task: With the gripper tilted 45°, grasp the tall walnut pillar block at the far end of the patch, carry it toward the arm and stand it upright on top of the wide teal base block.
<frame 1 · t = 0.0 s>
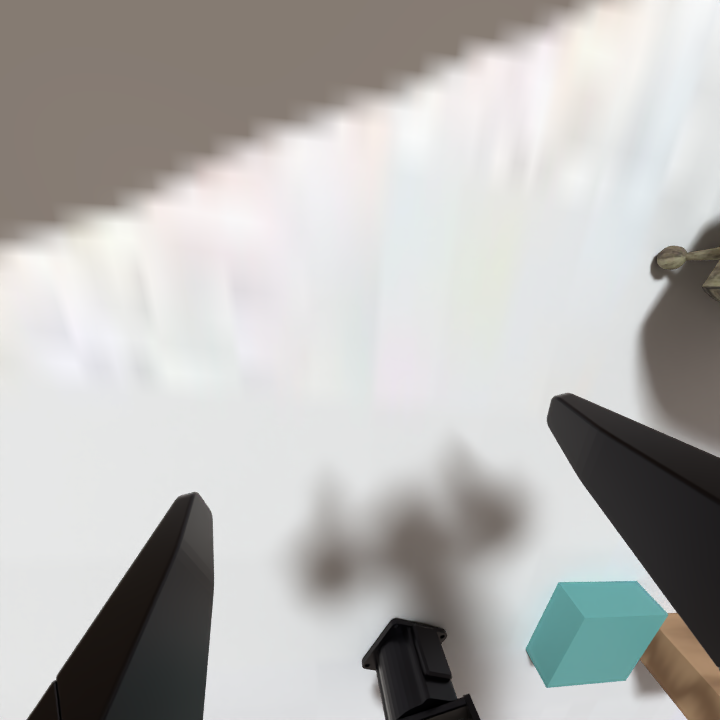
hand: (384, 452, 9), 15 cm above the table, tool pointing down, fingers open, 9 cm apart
walnut pillar: (653, 628, 44), on the table
teal base block: (578, 612, 40), on the table
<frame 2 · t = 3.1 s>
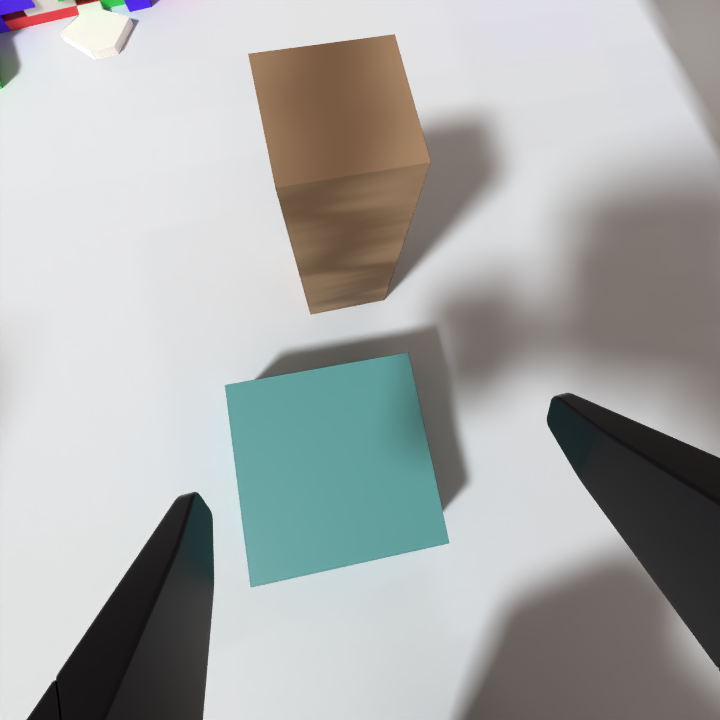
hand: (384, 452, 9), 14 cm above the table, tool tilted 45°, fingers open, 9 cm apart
walnut pillar: (339, 272, 25), on the table
teal base block: (335, 456, 23), on the table
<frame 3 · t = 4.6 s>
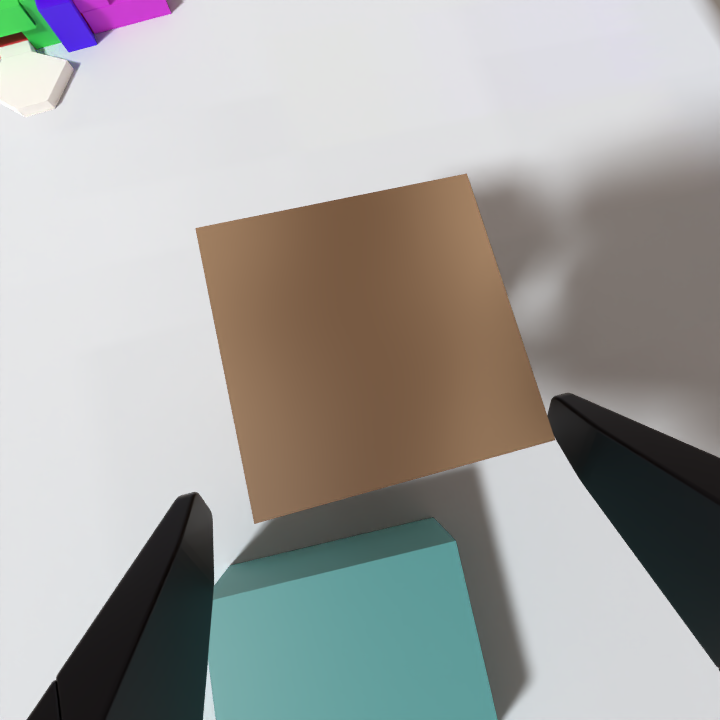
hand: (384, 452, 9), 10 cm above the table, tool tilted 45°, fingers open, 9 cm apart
walnut pillar: (350, 393, 19), on the table
teal base block: (354, 648, 17), on the table
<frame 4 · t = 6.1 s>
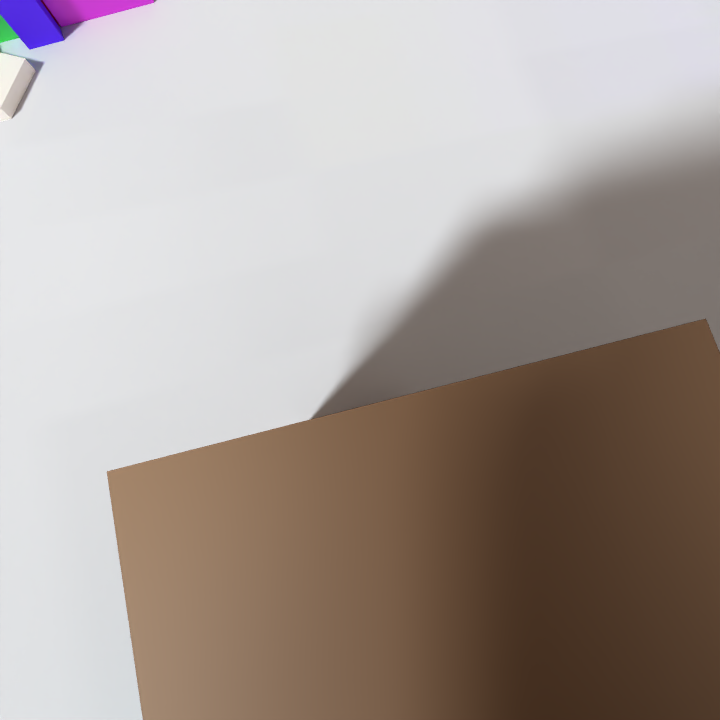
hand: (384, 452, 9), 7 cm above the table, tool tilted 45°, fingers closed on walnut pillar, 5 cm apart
walnut pillar: (373, 472, 15), on the table, touching gripper
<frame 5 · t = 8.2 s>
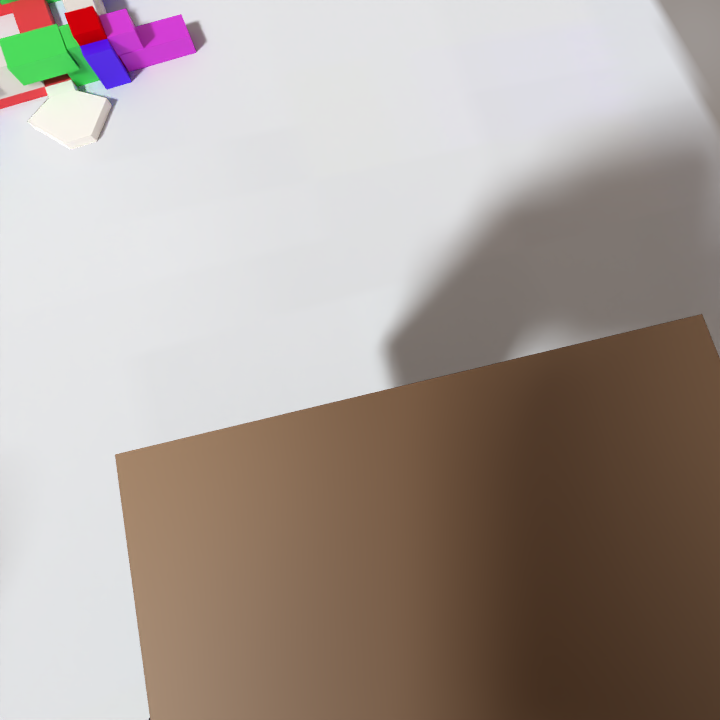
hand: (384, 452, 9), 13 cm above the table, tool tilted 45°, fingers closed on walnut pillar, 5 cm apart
walnut pillar: (377, 470, 15), point 6 cm above the table, touching gripper
when the fingers open (12 cm above the table, at t = 10.1 s): walnut pillar drops 1 cm, point 4 cm above the table.
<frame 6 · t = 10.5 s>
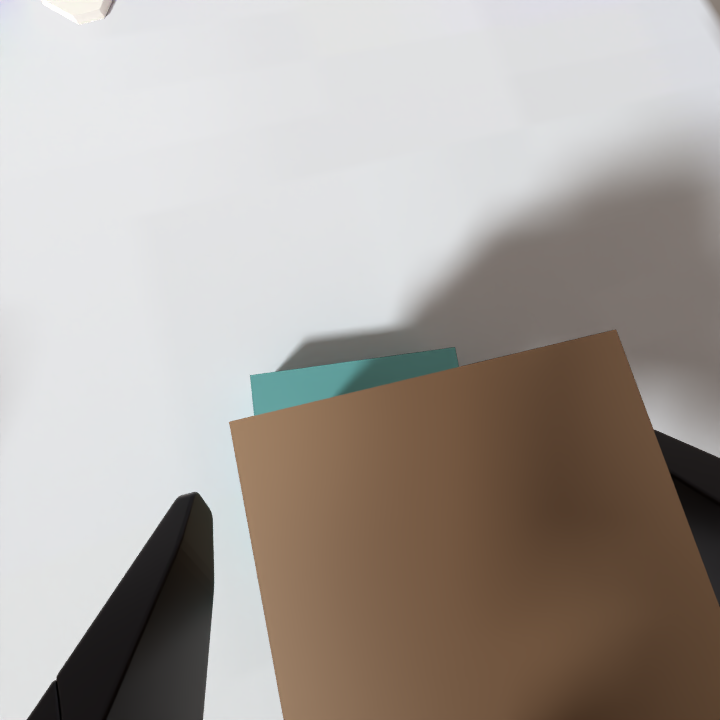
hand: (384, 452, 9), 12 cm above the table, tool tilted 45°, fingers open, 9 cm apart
walnut pillar: (372, 467, 17), point 4 cm above the table
teal base block: (364, 457, 21), on the table
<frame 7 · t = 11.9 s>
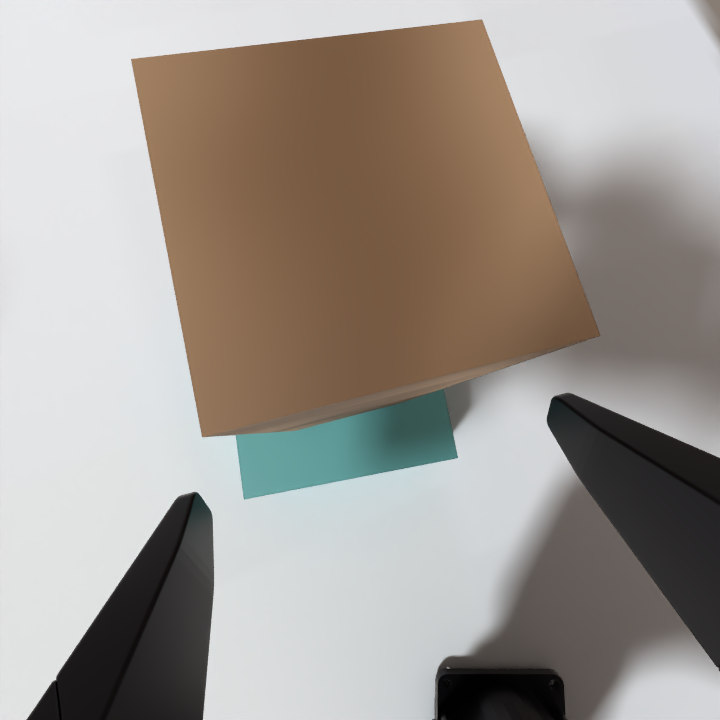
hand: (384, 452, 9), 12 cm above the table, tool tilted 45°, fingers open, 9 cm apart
walnut pillar: (334, 365, 17), point 4 cm above the table, touching teal base block
teal base block: (336, 380, 22), on the table, touching walnut pillar
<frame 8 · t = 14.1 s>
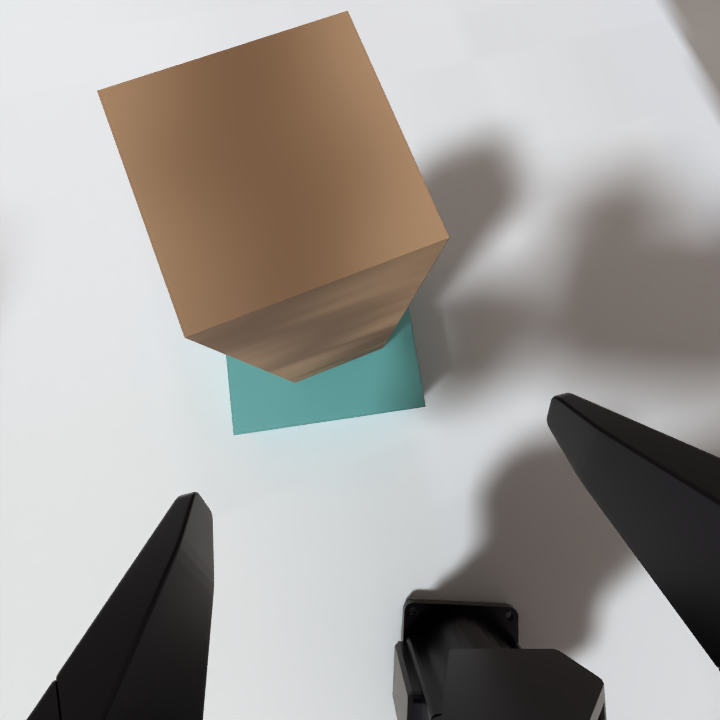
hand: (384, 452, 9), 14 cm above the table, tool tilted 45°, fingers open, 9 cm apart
walnut pillar: (322, 322, 20), point 4 cm above the table
teal base block: (322, 342, 24), on the table
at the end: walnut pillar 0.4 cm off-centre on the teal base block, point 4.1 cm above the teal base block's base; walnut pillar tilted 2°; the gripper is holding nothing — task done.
